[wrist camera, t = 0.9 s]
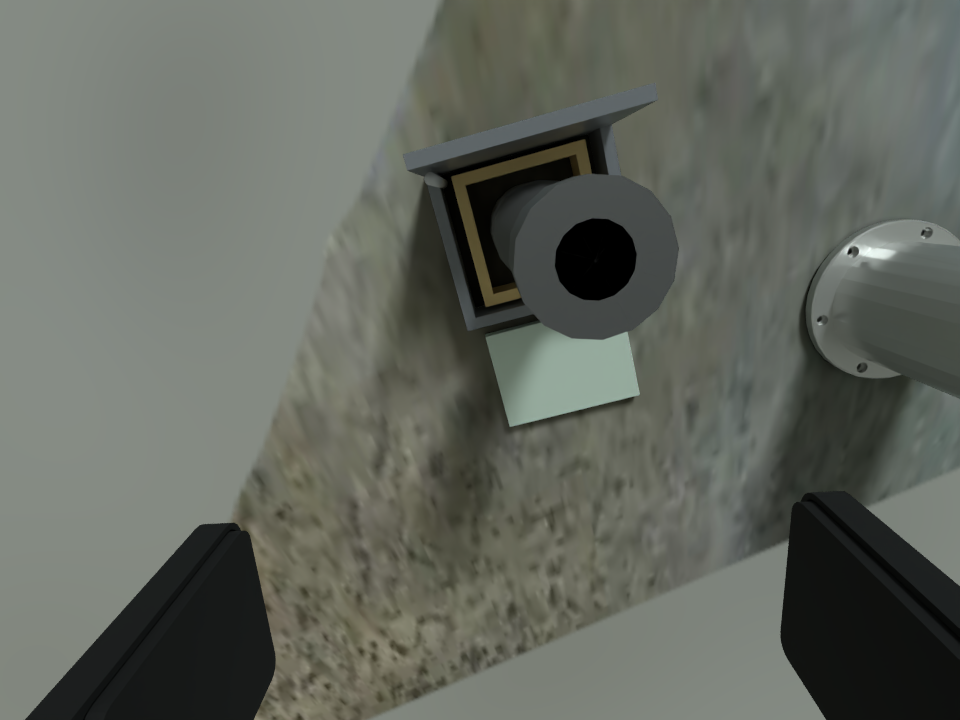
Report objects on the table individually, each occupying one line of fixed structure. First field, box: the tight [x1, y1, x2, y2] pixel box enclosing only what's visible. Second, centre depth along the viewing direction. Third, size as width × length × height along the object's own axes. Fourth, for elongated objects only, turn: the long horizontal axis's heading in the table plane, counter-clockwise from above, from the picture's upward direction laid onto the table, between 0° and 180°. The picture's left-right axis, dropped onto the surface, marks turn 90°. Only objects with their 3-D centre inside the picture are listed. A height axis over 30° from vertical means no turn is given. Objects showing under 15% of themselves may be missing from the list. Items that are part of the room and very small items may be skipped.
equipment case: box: [403, 83, 658, 331], centre depth 36 cm, size 13×12×14 cm
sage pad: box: [485, 320, 640, 427], centre depth 46 cm, size 11×8×1 cm
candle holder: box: [490, 174, 679, 340], centre depth 31 cm, size 6×6×25 cm
